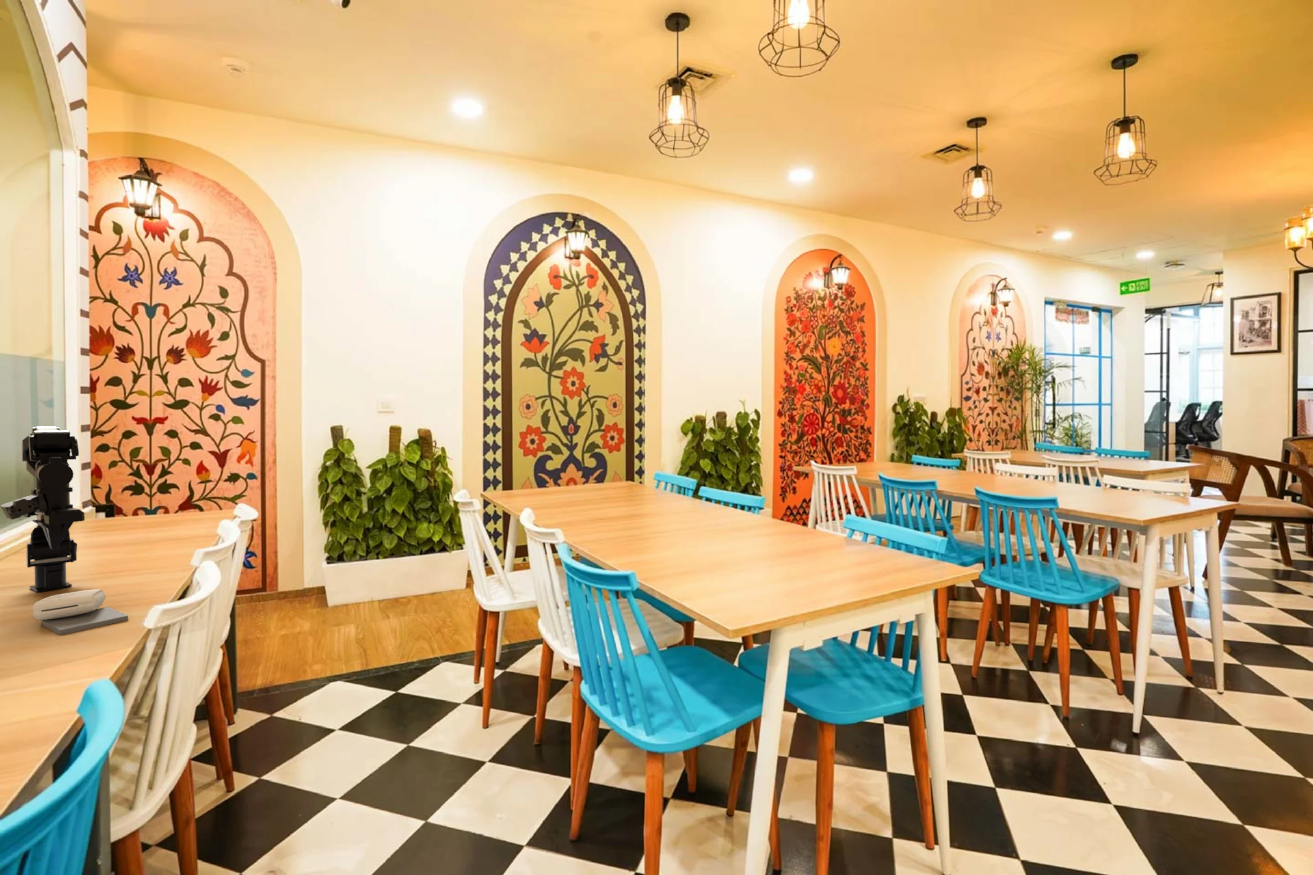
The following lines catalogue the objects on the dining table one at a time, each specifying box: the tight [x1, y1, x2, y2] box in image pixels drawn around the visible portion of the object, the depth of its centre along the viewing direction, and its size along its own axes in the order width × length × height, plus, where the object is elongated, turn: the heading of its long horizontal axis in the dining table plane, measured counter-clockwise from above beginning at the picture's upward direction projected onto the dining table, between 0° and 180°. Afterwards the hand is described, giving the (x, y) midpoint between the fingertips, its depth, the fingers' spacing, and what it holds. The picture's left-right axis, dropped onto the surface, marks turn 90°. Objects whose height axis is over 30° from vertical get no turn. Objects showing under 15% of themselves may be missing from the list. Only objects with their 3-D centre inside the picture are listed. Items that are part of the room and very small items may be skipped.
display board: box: [41, 606, 129, 636], centre depth 133 cm, size 11×11×1 cm
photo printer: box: [32, 588, 107, 621], centre depth 136 cm, size 10×4×12 cm
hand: (54, 549), depth 148 cm, fingers closed
